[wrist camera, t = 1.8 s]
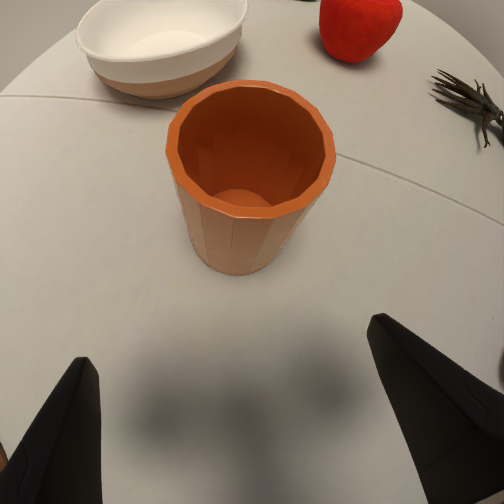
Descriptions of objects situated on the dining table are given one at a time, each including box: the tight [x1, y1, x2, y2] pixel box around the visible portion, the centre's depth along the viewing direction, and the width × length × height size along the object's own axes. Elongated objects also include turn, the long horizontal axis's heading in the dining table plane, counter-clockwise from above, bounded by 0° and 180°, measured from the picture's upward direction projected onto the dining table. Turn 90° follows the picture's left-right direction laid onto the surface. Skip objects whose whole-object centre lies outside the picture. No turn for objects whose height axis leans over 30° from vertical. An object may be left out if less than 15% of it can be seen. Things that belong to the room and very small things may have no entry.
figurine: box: [432, 69, 504, 148], centre depth 30 cm, size 14×6×18 cm
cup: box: [165, 80, 336, 275], centre depth 19 cm, size 7×7×12 cm
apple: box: [319, 0, 403, 63], centre depth 26 cm, size 9×9×11 cm
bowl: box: [76, 0, 248, 99], centre depth 25 cm, size 16×16×8 cm
